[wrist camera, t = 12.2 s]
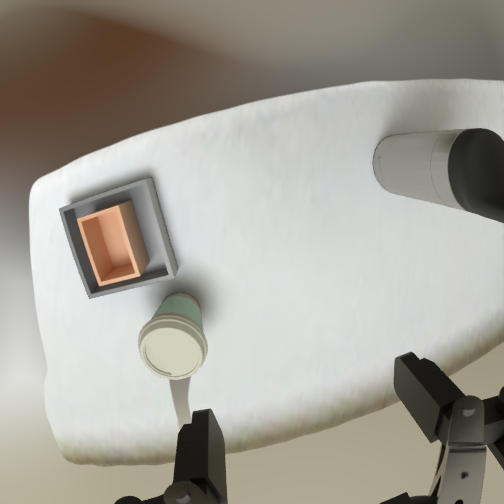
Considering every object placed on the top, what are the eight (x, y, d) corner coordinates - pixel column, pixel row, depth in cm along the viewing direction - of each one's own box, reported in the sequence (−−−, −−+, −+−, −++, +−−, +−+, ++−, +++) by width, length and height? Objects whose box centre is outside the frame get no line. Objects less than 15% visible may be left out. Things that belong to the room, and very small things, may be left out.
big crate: (152, 177, 40) (145, 178, 36) (178, 268, 44) (174, 278, 40) (71, 204, 39) (58, 208, 36) (98, 288, 43) (89, 298, 39)
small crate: (131, 199, 40) (118, 205, 34) (150, 261, 42) (140, 276, 37) (94, 211, 40) (76, 219, 34) (113, 271, 42) (99, 286, 36)
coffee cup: (151, 283, 44) (130, 321, 32) (209, 284, 45) (206, 324, 33) (155, 333, 46) (140, 381, 35) (209, 335, 47) (208, 384, 35)
